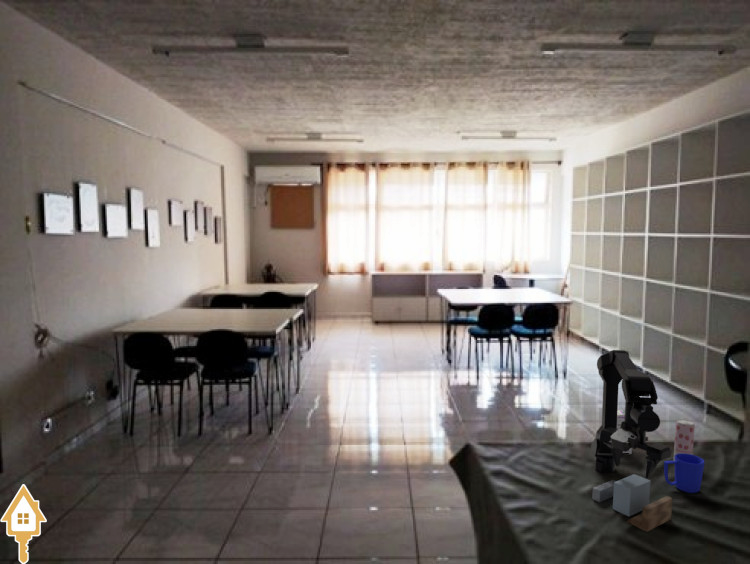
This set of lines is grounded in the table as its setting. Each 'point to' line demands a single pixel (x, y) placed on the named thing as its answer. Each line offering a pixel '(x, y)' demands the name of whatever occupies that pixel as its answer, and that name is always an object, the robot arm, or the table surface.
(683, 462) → the mug
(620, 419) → the syrup box
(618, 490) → the blue-grey rectangular block
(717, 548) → the table surface
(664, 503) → the shelf
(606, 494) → the grey rectangular block
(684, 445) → the beverage can
